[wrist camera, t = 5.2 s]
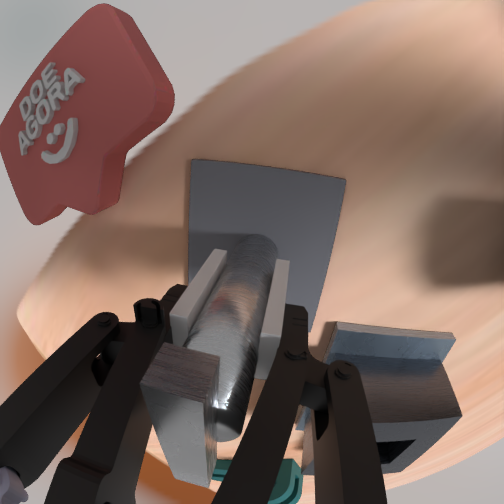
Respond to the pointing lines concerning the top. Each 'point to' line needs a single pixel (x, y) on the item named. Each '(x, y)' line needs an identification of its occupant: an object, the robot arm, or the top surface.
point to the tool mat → (266, 219)
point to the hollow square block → (394, 390)
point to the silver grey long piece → (212, 366)
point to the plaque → (83, 116)
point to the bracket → (285, 486)
